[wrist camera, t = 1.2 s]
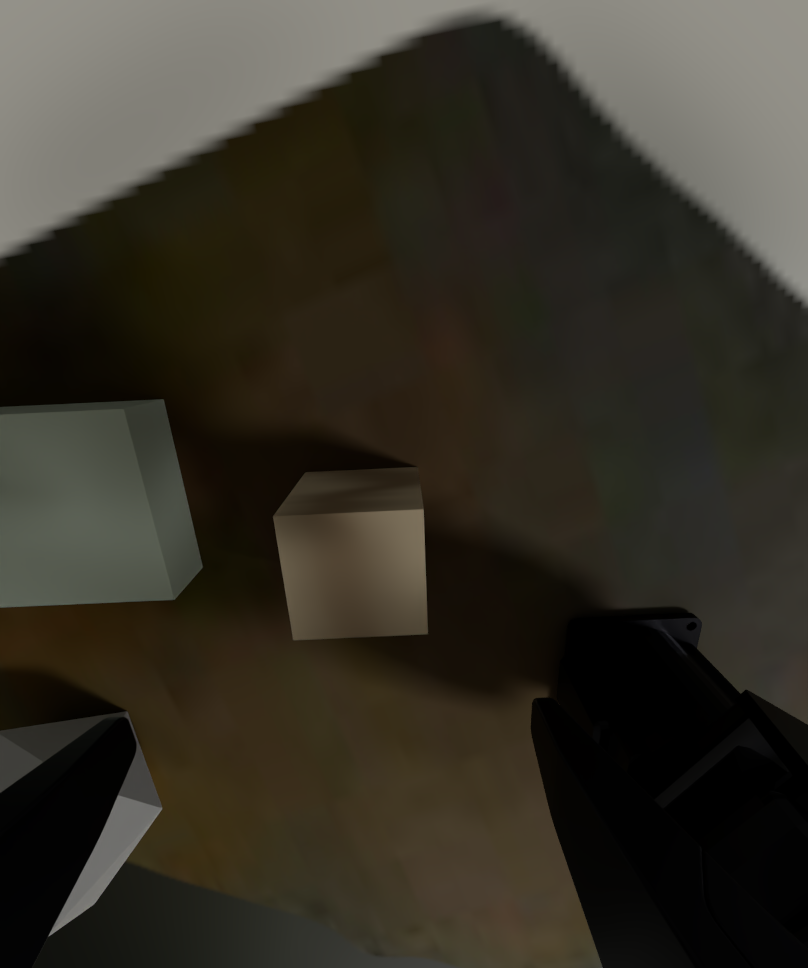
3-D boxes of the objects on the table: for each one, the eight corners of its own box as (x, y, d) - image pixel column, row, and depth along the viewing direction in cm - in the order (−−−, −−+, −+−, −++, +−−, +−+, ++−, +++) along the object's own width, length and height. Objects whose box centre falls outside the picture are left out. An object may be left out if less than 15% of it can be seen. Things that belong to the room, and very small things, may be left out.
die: (23, 657, 22) (-211, 902, 16) (107, 707, 18) (-174, 1070, 12) (140, 713, 28) (-4, 913, 22) (227, 762, 23) (76, 1032, 17)
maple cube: (417, 466, 18) (423, 509, 14) (421, 565, 20) (428, 634, 15) (305, 471, 18) (273, 516, 14) (318, 569, 20) (293, 640, 15)
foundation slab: (168, 398, 18) (123, 408, 15) (206, 563, 20) (174, 599, 17) (-18, 407, 18) (-99, 419, 15) (43, 570, 20) (-15, 608, 17)
